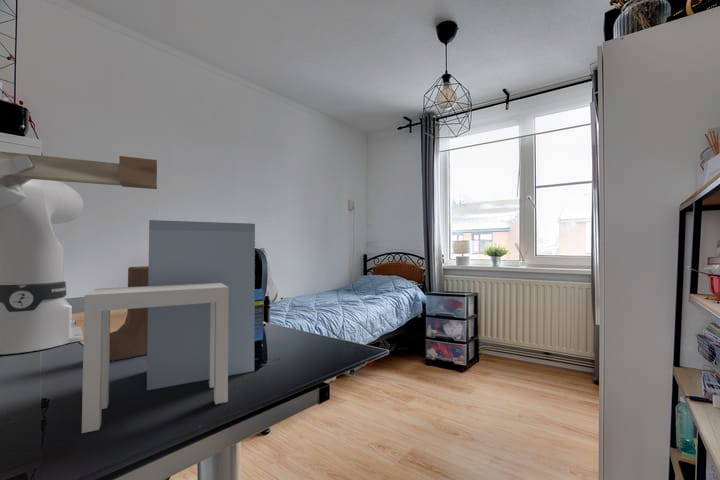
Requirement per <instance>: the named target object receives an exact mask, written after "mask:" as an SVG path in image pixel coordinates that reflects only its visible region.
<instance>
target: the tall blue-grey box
mask: <svg viewBox="0 0 720 480" xmlns="http://www.w3.org/2000/svg"><path fill="white" fill-rule="evenodd" d="M148 228H149V229H148V266H149V274H148V286H164V285H184V284H205V283H222V284H224V285H226V286H227V287H229V296H228V377H229V376H235V375H240V374H246V373H252V372H255V342H254V323H255V290H256V289H255V288H256V287H255V284H256V282H255V280H256V275H255V272H256V271H255V270H256V264H255V263H256V261H255V260H256V257H255V256H256V248H255V247H256V241H255V240H256V224H255V223H250V222H249V223H245V222H243V223H242V222H218V221H215V222H214V221H193V220H192V221H189V220H188V221H187V220H161V219H160V220H159V219H149V220H148ZM209 308H210V303H200V304H186V305H173V306H160V307H148V342H147V355H146V357H147V359H146V361H147V362H146V391H151V390H157V389H161V388H167V387H172V386H179V385H183V384H190V383H196V382H201V381H207V380H209Z"/></svg>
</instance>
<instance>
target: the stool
mask: <svg viewBox="0 0 720 480" xmlns="http://www.w3.org/2000/svg"><path fill="white" fill-rule="evenodd" d="M228 296H229V287H227V286H226V285H224V284H222V283H205V284H184V285H164V286H143V287H128V286H127V287H126V286H125V287H111V288H110V287H106V288H104V287H103V288H95V289H94V290H91V291H90V292H88V293H86V294H84V302H83V303H84V306H83V307H84V310H83V348H82V349H83V353H82V354H83V356H82V357H83V358H82V359H83V360H82V396H81V397H82V400H81V401H82V404H81V405H82V406H81V407H82V408H81V409H82V410H81V434H85V433H90V432H95V431H99V430H100V429H101V425H102V410H105V409H108V406H109V399H110V398H109V395H110V362H109V355H110V333H111V311H118V310H120V311H121V310H127V309H133V308H147V307H160V306H173V305H186V304H200V303H210V308H209V379H208V387H209V389H213V401H214V405H218V404H224V403H228V402H229V376H228Z"/></svg>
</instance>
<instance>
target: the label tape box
mask: <svg viewBox="0 0 720 480" xmlns="http://www.w3.org/2000/svg"><path fill="white" fill-rule="evenodd" d="M264 296H265V295H264V288H258V289H257V288H256V289H255V323H254V343H255V342H258V341H263V340H264V306H265V304H264V302H265V299H264V298H265V297H264Z"/></svg>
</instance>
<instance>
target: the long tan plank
mask: <svg viewBox="0 0 720 480" xmlns="http://www.w3.org/2000/svg"><path fill="white" fill-rule="evenodd" d="M20 155H25V156H27V157H28V158H29V159H30V160H31V161H32V163H33V164H34V168H33V169H31V170H28V171H25V172H22V173H21V172H17V173H13V174H9V175H6V176H3V177H11V178H25V179H38V180H52V181H60V182H65V183H66V182H69V183H81V184H94V185H95V184H96V185H106V186H107V185H109V186H118V187H119V186H121V187H123V188H124V187H125V188H133V189H135V188H136V189H150V190H157V189H158V161H157V159H151V158H143V157H142V158H141V157H131V156H126V155H125V156H123V155H119V156H118V157H119V159H118V160H119V163H116V162H106V161H97V160H86V159H77V158H68V157H59V156H58V157H57V156H47V155H38V154H37V155H36V154H28V153H27V154H26V153H18V152H9V151H7V152H6V151H0V159H10V158H13V157H16V156H20Z"/></svg>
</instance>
